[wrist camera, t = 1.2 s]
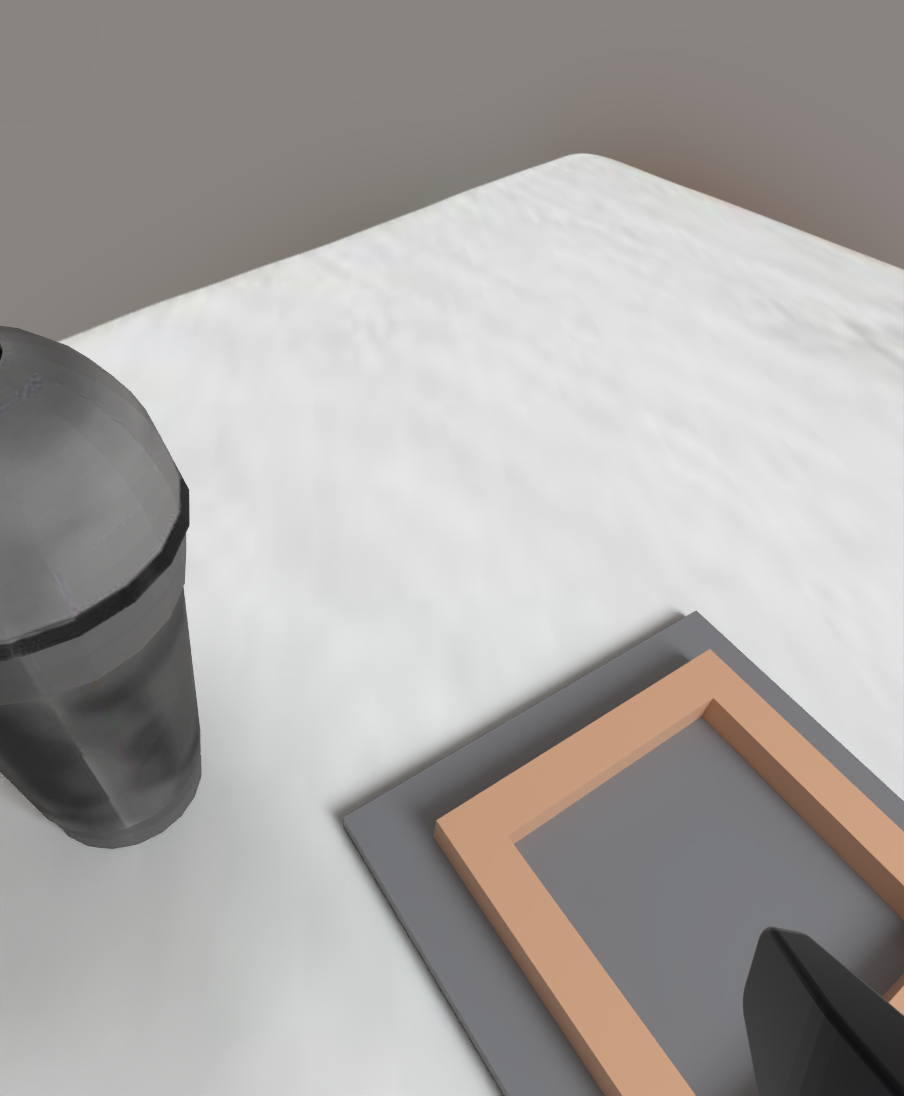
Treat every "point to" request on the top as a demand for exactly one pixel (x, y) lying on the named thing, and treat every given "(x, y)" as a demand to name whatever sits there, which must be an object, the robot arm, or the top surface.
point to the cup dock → (638, 870)
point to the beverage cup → (91, 601)
